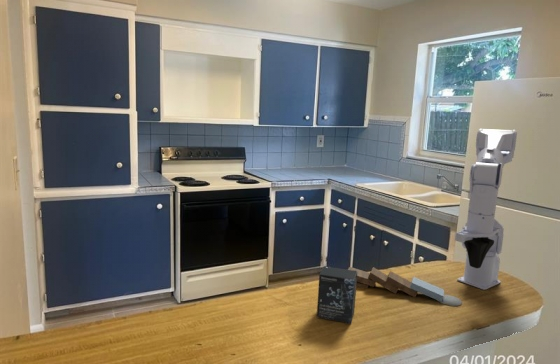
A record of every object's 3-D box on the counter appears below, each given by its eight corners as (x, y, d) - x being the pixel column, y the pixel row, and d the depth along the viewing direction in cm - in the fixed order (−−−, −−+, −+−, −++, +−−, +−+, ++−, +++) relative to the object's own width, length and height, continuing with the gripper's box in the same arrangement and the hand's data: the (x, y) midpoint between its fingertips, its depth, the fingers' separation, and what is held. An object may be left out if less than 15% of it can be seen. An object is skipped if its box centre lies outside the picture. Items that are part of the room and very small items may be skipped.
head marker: (461, 298, 103) (461, 297, 103) (462, 308, 98) (462, 307, 98) (436, 293, 106) (436, 292, 106) (435, 302, 100) (435, 302, 100)
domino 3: (400, 282, 108) (373, 267, 110) (398, 288, 104) (370, 272, 106) (397, 287, 109) (370, 271, 111) (395, 293, 105) (367, 277, 107)
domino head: (444, 289, 104) (413, 276, 107) (443, 296, 100) (411, 282, 103) (441, 295, 104) (411, 281, 107) (441, 301, 100) (409, 288, 103)
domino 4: (418, 286, 106) (390, 270, 109) (417, 292, 102) (388, 276, 105) (415, 290, 107) (387, 275, 109) (414, 297, 103) (385, 281, 105)
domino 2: (370, 279, 111) (342, 274, 114) (367, 285, 107) (338, 279, 110) (370, 284, 112) (341, 279, 115) (367, 290, 108) (338, 285, 110)
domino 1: (377, 275, 111) (349, 266, 113) (375, 281, 106) (346, 272, 109) (376, 280, 111) (348, 271, 114) (374, 286, 107) (345, 277, 109)
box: (316, 318, 90) (318, 273, 89) (321, 307, 96) (323, 265, 94) (351, 325, 88) (354, 279, 86) (354, 313, 93) (357, 270, 92)
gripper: (485, 206, 103) (479, 257, 105) (446, 211, 96) (441, 265, 98) (512, 212, 97) (505, 266, 99) (473, 218, 90) (466, 275, 92)
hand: (474, 266), depth 98 cm, fingers closed
